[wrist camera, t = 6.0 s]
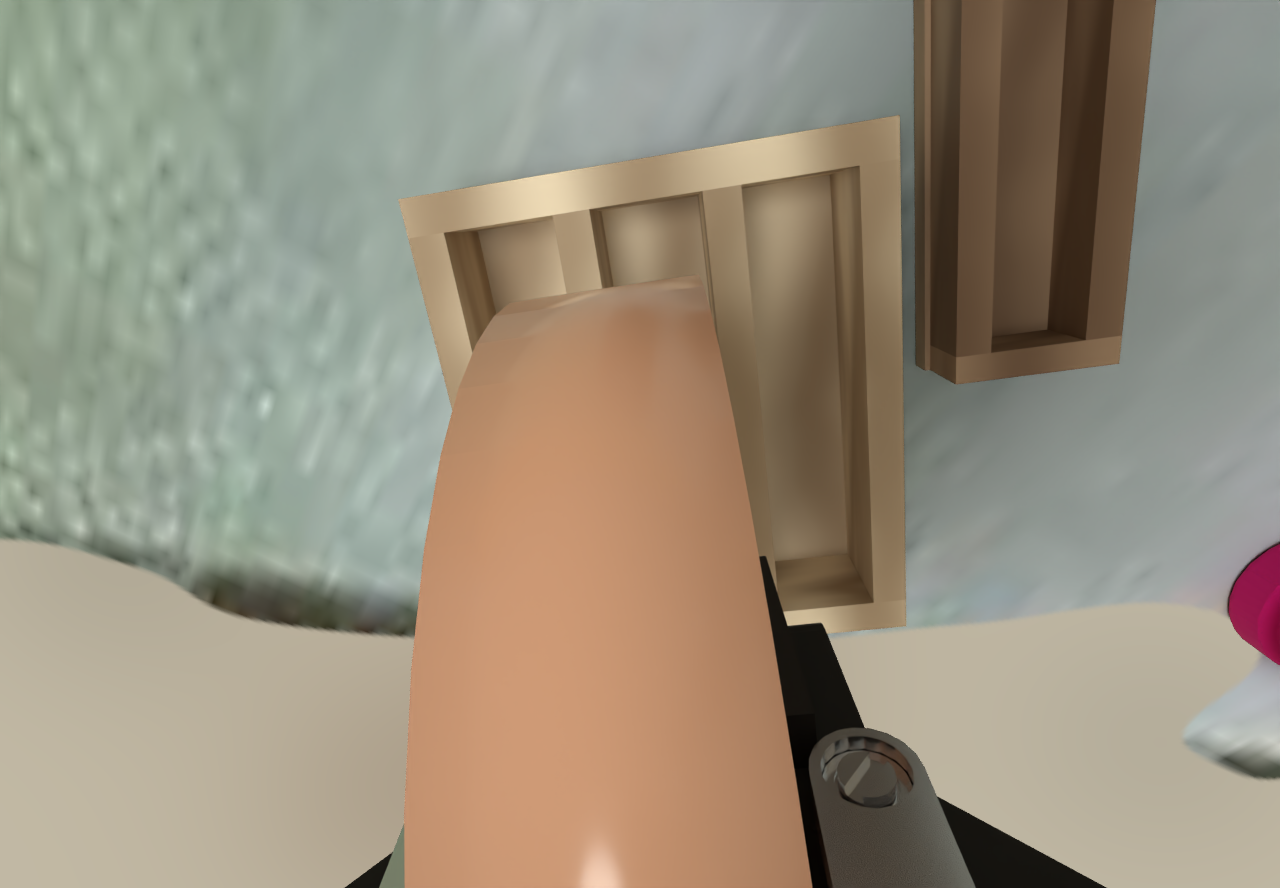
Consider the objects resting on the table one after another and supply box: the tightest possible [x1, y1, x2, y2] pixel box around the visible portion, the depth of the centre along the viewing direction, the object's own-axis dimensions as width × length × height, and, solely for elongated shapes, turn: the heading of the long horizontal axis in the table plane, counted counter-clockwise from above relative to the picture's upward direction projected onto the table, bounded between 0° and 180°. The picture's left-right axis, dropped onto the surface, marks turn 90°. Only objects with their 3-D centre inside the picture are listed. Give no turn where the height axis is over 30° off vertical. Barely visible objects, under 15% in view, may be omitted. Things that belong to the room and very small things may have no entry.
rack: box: [398, 115, 906, 634], centre depth 25 cm, size 16×18×5 cm
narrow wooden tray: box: [914, 0, 1156, 384], centre depth 22 cm, size 6×16×3 cm, turn 9°
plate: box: [404, 274, 812, 888], centre depth 10 cm, size 2×13×13 cm, turn 8°
